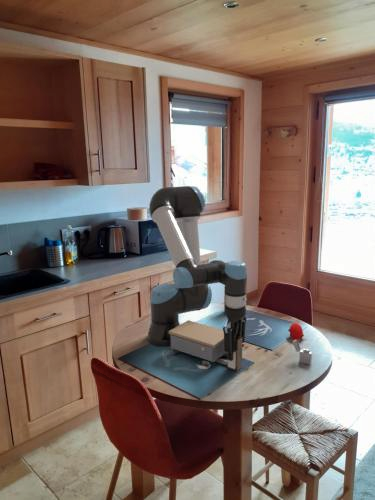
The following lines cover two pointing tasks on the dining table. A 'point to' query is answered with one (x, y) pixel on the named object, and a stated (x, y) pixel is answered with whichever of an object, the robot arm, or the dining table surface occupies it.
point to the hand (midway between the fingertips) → (234, 364)
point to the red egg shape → (296, 331)
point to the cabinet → (198, 340)
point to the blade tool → (238, 354)
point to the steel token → (203, 365)
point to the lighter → (303, 353)
